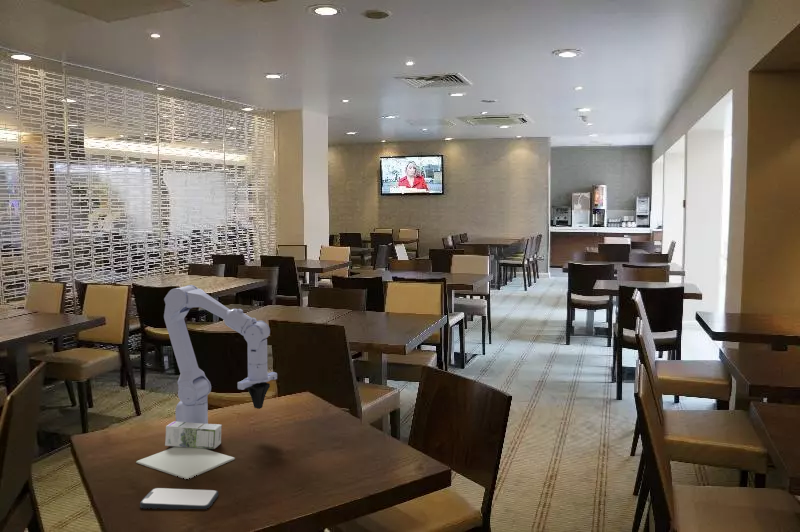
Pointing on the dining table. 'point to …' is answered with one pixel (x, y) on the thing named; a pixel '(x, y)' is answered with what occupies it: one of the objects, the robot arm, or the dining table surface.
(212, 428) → the syrup box
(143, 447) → the dining table surface
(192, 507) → the phone case
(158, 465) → the mat
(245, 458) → the dining table surface
